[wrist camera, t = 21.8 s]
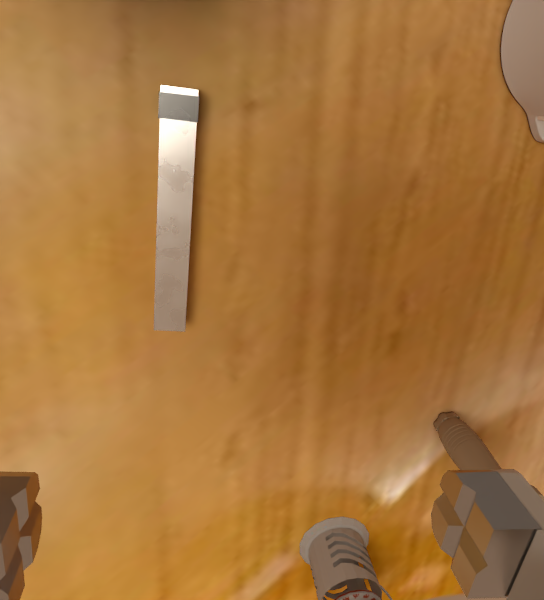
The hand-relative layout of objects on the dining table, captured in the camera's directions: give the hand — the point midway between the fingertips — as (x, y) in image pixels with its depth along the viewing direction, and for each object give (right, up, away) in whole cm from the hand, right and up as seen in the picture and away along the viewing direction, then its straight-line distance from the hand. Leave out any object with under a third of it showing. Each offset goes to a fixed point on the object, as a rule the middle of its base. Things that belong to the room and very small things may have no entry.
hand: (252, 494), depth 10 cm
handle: (+22, -11, +51) cm, 57 cm away
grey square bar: (-9, +12, +36) cm, 39 cm away
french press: (+10, -30, +58) cm, 66 cm away
